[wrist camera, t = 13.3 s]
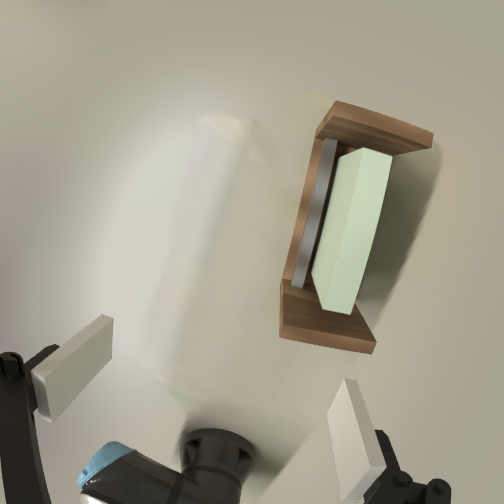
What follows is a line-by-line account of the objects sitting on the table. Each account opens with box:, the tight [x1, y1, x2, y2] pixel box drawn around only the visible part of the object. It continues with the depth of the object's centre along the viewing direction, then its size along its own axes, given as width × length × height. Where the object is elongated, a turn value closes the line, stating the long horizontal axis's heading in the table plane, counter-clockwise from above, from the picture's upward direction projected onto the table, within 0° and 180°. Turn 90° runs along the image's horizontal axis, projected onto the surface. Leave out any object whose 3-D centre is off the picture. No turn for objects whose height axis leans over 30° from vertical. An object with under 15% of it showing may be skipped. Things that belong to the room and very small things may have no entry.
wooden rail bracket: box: [279, 101, 433, 354], centre depth 35 cm, size 23×10×16 cm, turn 168°
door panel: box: [310, 147, 392, 315], centre depth 35 cm, size 16×4×14 cm, turn 168°
